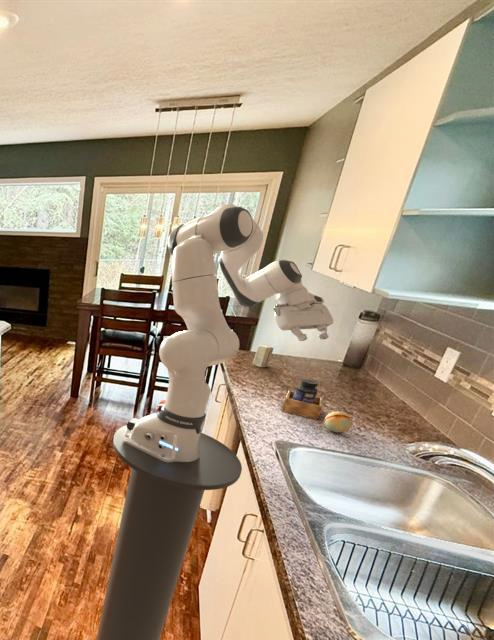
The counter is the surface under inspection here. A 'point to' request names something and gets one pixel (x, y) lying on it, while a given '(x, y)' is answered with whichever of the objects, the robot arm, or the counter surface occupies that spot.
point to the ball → (338, 422)
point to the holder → (303, 406)
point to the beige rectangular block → (263, 355)
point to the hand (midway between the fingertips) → (314, 339)
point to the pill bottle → (306, 391)
